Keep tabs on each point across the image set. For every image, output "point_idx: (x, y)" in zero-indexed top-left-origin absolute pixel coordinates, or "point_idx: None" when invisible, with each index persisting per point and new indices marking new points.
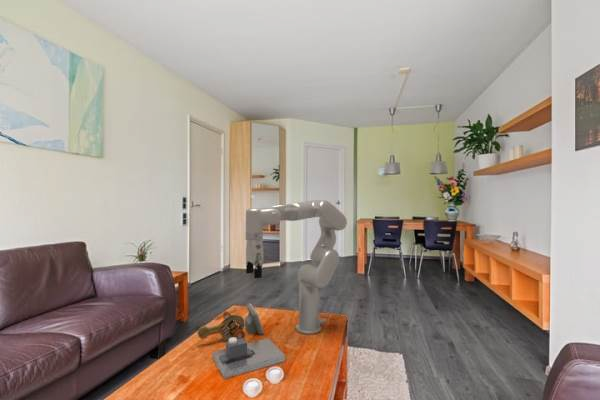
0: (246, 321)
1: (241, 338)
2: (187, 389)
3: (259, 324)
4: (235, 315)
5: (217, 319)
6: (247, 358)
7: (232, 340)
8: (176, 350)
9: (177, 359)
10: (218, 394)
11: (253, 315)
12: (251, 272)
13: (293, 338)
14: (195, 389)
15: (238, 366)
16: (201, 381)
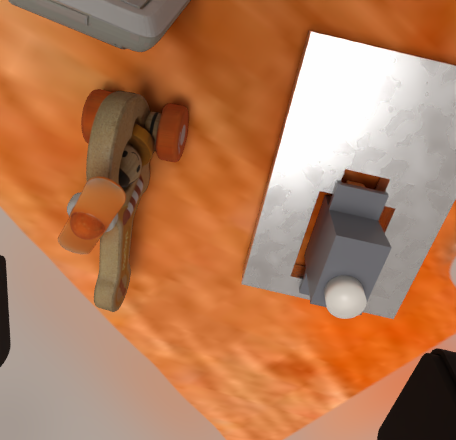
0: (60, 23)
1: (334, 243)
2: (348, 380)
3: (180, 6)
4: (105, 165)
5: (89, 250)
6: (389, 223)
7: (357, 310)
8: (113, 324)
9: (175, 342)
10: (437, 344)
11: (146, 49)
12: (1, 286)
13: None
14: (365, 369)
15: (407, 273)
16: (343, 346)
